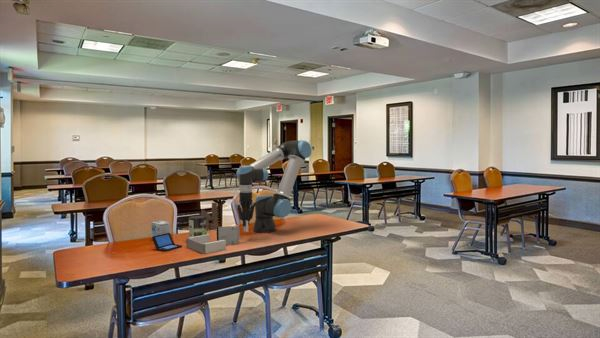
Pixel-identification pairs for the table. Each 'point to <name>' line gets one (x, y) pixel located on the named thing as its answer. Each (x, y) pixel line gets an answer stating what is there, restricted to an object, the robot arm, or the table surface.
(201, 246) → the mortise bay
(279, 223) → the table surface
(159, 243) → the handheld game console
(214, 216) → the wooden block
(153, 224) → the light bulb box
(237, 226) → the gray rectangular block
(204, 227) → the grey-green tall box
